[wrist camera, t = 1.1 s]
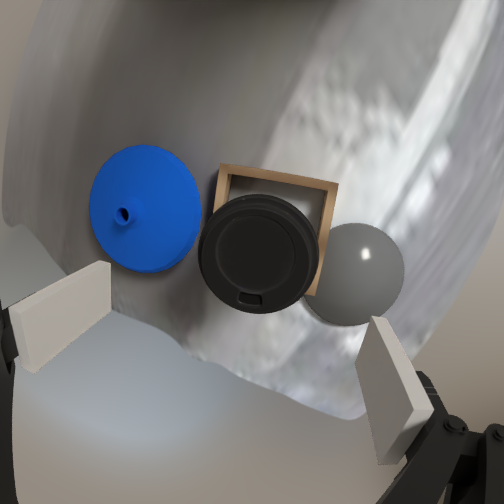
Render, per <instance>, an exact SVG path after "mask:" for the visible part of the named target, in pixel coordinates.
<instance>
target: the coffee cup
mask: <svg viewBox="0 0 504 504" xmlns="http://www.w3.org/2000/svg"><path fill="white" fill-rule="evenodd" d="M198 261H199V267H200V270H201V273H202V276H203V278H204V280H205V282H206V284H207V285H208V287H209V288H210V290H211V291H212V292H213V293H214V294H215V295H216V296H217V297H218V298H219V299H220V300H221V301H223V302H224V303H226V304H227V305H229V306H231V307H233V308H235V309H237V310H240V311H243V312H247V313H254V314H266V313H273V312H277V311H280V310H282V309H285V308H287V307H289V306H291V305H292V304H294V303H295V302H296V301H298V300H299V299H300V298H301V297H302V296H303V295H304V294H305V293H306V292H307V290H308V289H309V287H310V286H311V284H312V282H313V280H314V278H315V275H316V273H317V269H318V265H319V245H318V240H317V237H316V234H315V231H314V229H313V227H312V225H311V224H310V222H309V221H308V219H307V218H306V217H305V216H304V214H303V213H302V212H301V211H299V210H298V209H297V208H296V207H295V206H293V205H292V204H290V203H288V202H287V201H285V200H283V199H280V198H277V197H274V196H270V195H263V194H252V195H245V196H241V197H238V198H235V199H233V200H231V201H229V202H227V203H225V204H224V205H222V206H221V207H220V208H218V209H217V210H216V211H215V212H214V213H213V215H212V216H211V217H210V218H209V220H208V221H207V223H206V225H205V227H204V229H203V231H202V234H201V236H200V240H199V245H198Z"/></svg>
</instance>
